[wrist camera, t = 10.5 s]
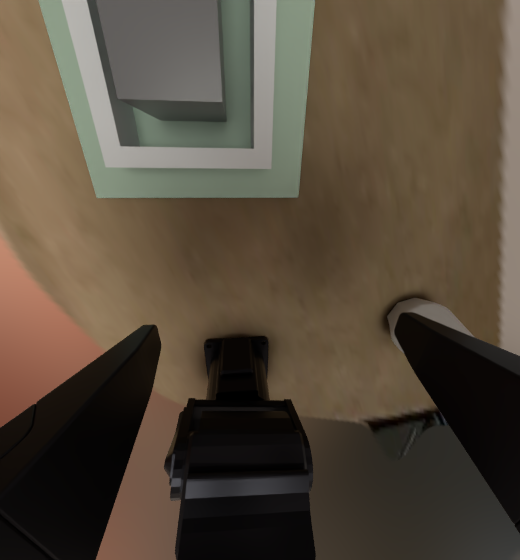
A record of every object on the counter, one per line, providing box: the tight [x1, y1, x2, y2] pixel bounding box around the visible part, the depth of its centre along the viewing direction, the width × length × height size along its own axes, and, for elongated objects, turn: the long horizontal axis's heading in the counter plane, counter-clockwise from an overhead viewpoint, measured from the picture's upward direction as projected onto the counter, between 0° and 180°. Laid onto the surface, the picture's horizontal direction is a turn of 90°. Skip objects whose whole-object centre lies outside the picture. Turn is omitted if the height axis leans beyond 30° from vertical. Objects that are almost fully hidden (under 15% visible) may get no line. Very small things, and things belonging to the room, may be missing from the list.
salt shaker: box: [387, 298, 474, 353], centre depth 19 cm, size 6×6×13 cm
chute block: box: [96, 0, 227, 122], centre depth 10 cm, size 7×4×6 cm, turn 179°
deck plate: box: [38, 0, 315, 198], centre depth 12 cm, size 16×14×4 cm
